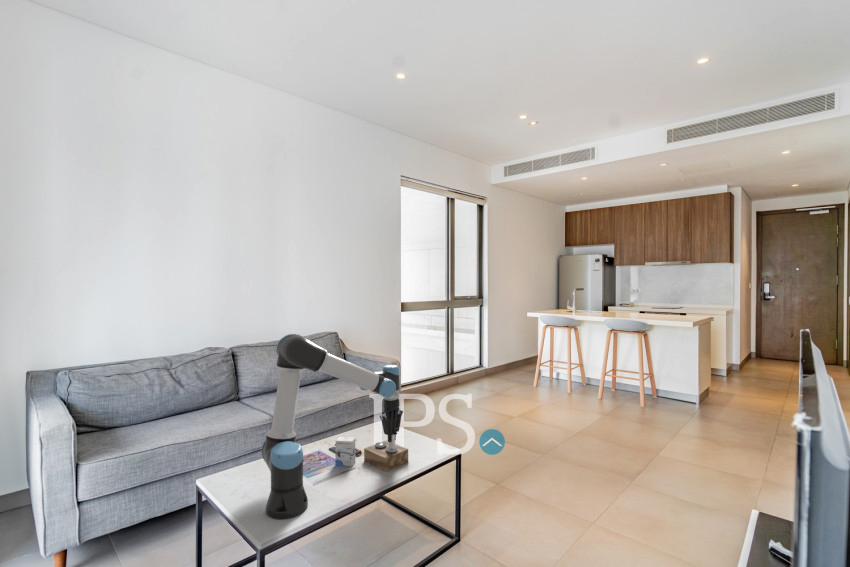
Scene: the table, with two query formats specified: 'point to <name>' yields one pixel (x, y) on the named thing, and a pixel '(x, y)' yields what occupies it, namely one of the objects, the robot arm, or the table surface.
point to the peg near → (391, 450)
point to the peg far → (380, 445)
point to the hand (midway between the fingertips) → (391, 448)
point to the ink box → (345, 451)
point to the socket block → (385, 457)
